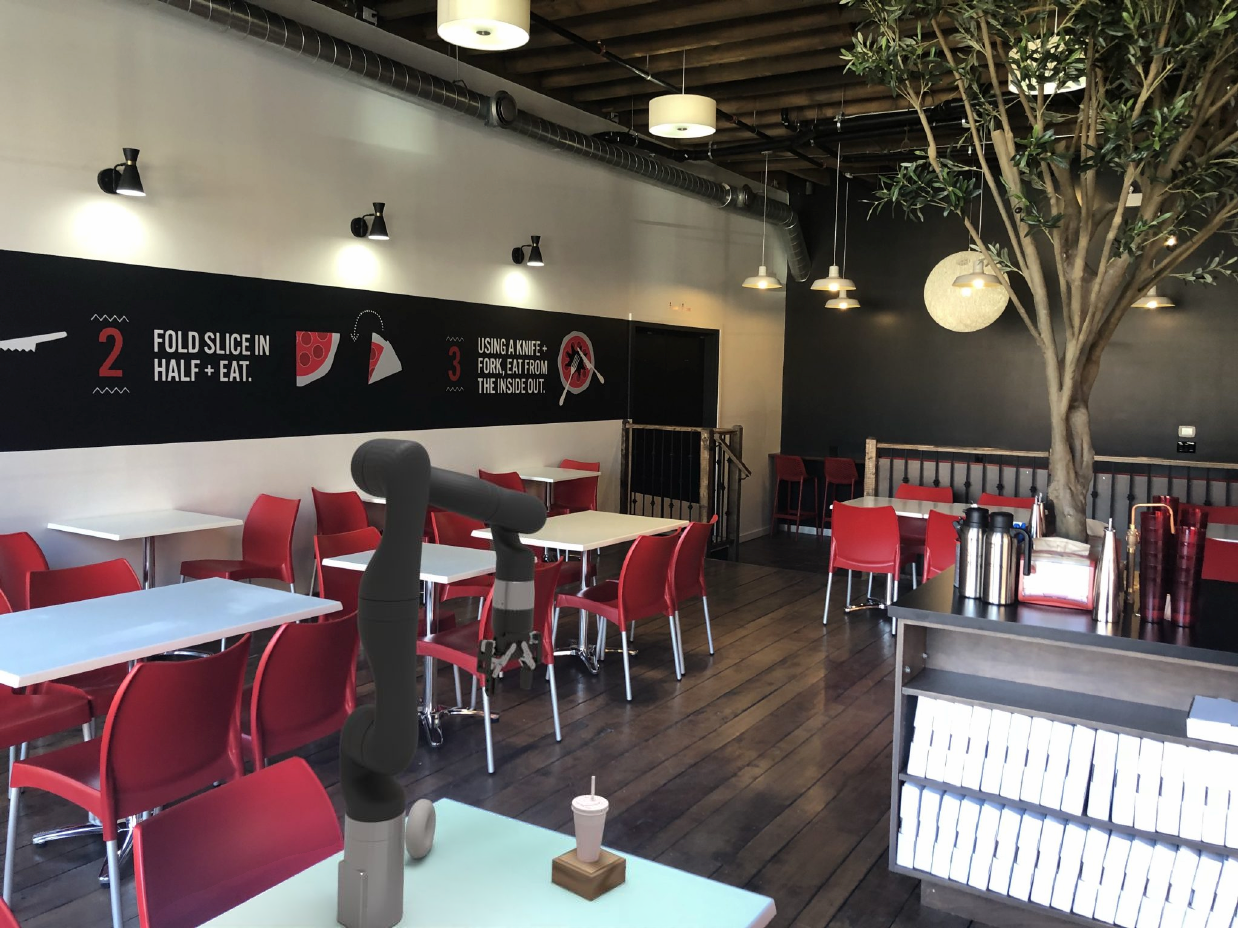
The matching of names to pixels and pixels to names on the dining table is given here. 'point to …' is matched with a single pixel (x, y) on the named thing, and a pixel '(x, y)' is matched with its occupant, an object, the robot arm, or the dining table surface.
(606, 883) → the base
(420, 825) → the donut
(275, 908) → the dining table surface
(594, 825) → the smoothie
